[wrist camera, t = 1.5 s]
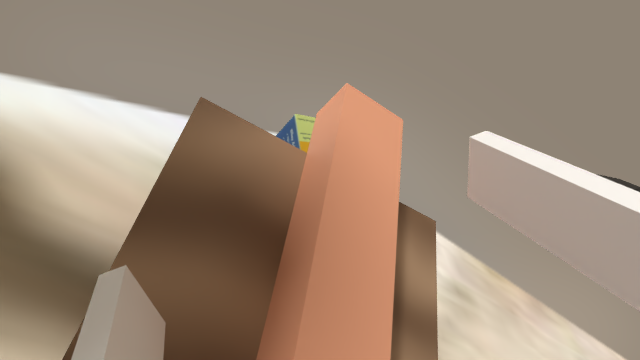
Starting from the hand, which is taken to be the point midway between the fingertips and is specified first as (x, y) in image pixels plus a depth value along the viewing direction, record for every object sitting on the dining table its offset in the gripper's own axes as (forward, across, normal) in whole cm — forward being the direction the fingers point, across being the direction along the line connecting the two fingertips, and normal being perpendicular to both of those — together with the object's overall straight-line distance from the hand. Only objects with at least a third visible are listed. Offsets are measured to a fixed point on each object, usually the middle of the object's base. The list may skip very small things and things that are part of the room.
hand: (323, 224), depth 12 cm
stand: (+22, -14, -22) cm, 34 cm away
